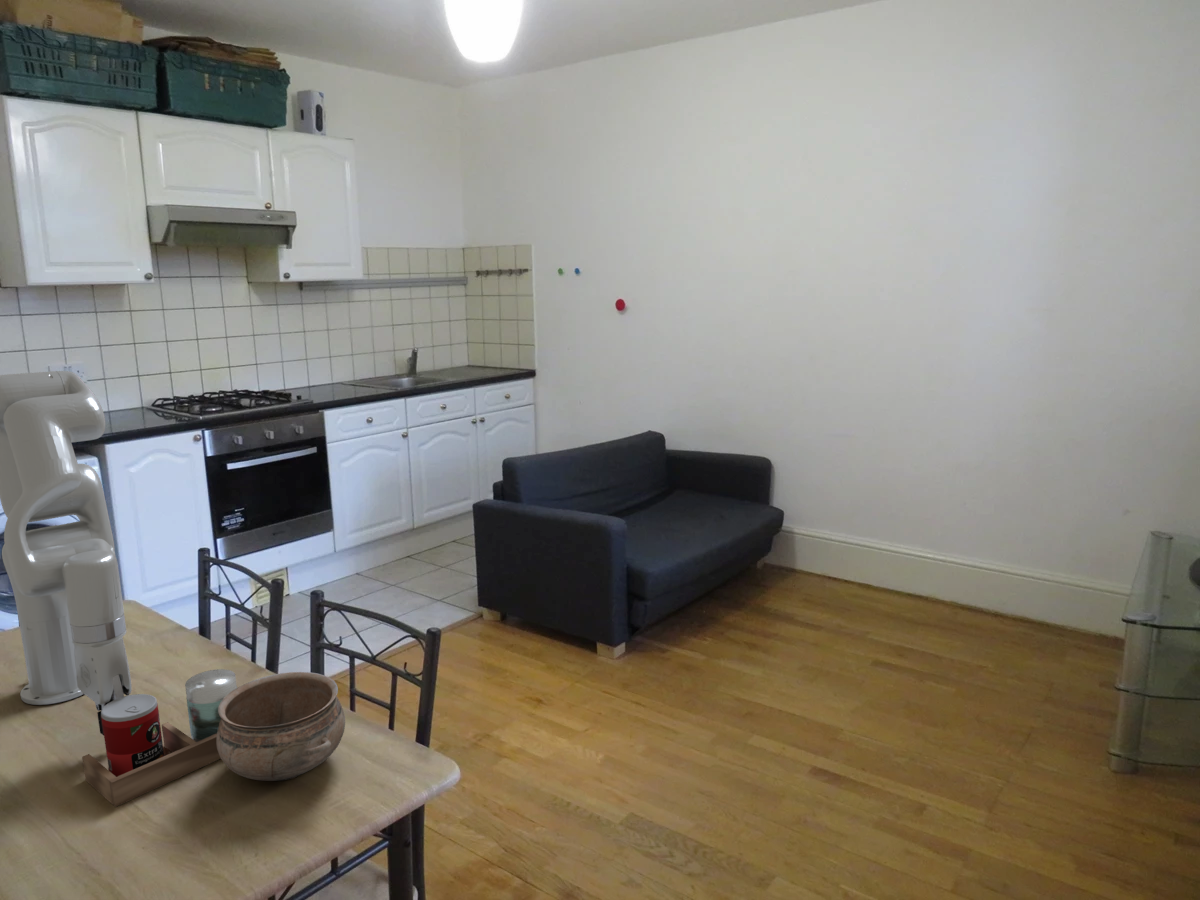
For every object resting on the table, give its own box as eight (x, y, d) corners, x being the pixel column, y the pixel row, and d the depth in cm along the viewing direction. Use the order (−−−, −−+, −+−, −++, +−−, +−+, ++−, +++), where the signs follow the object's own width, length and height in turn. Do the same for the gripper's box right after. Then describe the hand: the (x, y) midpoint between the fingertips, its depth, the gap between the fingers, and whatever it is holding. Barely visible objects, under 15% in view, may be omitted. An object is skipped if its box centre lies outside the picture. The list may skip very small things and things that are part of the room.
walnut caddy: (85, 780, 130) (81, 756, 129) (238, 714, 149) (236, 694, 148) (115, 806, 123) (111, 782, 122) (272, 734, 142) (269, 713, 141)
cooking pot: (191, 764, 134) (183, 694, 131) (301, 718, 147) (295, 654, 145) (267, 831, 117) (259, 752, 115) (382, 772, 131) (377, 701, 129)
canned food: (142, 785, 128) (133, 720, 126) (97, 780, 130) (87, 715, 128) (176, 757, 136) (168, 695, 133) (133, 753, 137) (124, 691, 135)
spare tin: (183, 742, 140) (176, 681, 138) (227, 723, 146) (221, 665, 144) (206, 757, 136) (198, 695, 133) (250, 737, 141) (244, 677, 139)
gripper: (54, 623, 135) (69, 726, 139) (92, 649, 126) (107, 758, 130) (104, 609, 141) (117, 708, 145) (143, 632, 132) (157, 737, 136)
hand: (112, 731), depth 137 cm, fingers closed
